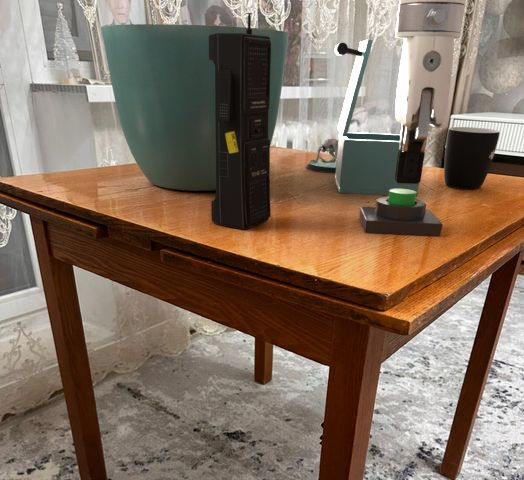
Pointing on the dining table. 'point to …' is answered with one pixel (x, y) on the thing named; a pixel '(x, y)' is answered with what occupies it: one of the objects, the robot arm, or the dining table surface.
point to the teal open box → (368, 164)
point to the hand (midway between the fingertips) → (407, 182)
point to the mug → (468, 156)
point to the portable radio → (241, 128)
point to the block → (399, 219)
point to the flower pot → (176, 97)
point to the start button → (402, 196)
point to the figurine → (325, 165)
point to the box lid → (353, 81)
